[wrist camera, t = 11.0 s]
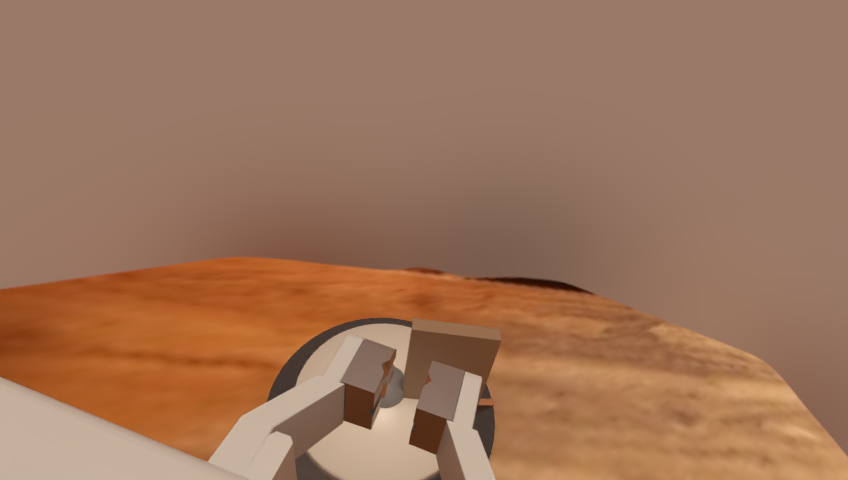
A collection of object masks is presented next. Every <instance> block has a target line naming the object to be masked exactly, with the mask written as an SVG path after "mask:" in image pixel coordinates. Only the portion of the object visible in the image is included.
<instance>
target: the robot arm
mask: <svg viewBox="0 0 848 480" xmlns="http://www.w3.org/2000/svg"><path fill="white" fill-rule="evenodd" d="M396 352H397V349H394V348H391V347H388V346H385V345H383V344H380V343H377V342H374V341H372V340H369V339H366V338H363V337H360V336H357V335H354V334H351V333H350V334H349V335H348V336H346V338H345V339H344V341H343V343H342V344H341V346H340V347H339V349H338V351H337V352H336V354H335V356H334V357H333V359H332V361H331V362H330V364H329V365H328V367H327V369H326V370H325V372H324V374H323V375H322V376H321V375H318V374H317V375H316V376H314V377H312V378H310V379H308V380H306V381H305V382H303V383H301V384H299V385H297V386H295V387H294V388H292V389H290V390H288V391H286V392H285V393H283V394H281V395H279V396H277V397H275V398H274V399H272V400H270V401H268V402H266V403H264V404H263V405H261V406H259V407H257V408H255V409H254V410H252V411H250V412H248V413H246V414H244V415H243V416H241V418H240V419H239V420H238V422H237V423H236V425H235V426H234V427H233V429H232V430H231V431H230V433H229V434H228V435H227V437H226V438H225V439H224V441H223V442H222V443H221V445H220V446H219V447H218V449H217V450H216V451H215V453H214V454H213V455H212V457H211V458H210V459H209V461H208V462H207V461H204V460H202V459H199V458H197V457H194V456H192V455H190V454H187V453H185V452H182V451H180V450H177V449H175V448H173V447H170V446H168V445H165V444H163V443H160V442H158V441H156V440H153V439H151V438H148V437H146V436H143V435H141V434H139V433H136V432H134V431H131V430H129V429H126V428H124V427H122V426H119V425H117V424H114V423H112V422H109V421H107V420H105V419H102V418H100V417H97V416H95V415H92V414H90V413H88V412H85V411H83V410H80V409H78V408H75V407H73V406H71V405H68V404H66V403H63V402H61V401H58V400H56V399H54V398H51V397H49V396H46V395H44V394H41V393H39V392H36V391H34V390H32V389H29V388H27V387H24V386H22V385H19V384H17V383H15V382H12V381H10V380H7V379H5V378H2V377H0V480H297V475H296V466H295V459H297V458H298V457H299V456H301V455H302V454H303V453H305V452H306V451H307V450H308V449H310V448H311V447H312V446H314V445H315V444H316V443H318V442H319V441H320V440H322V439H323V438H324V437H325V436H327V435H328V434H329V433H331V432H332V431H333V430H335V429H336V428H337V427H339V426H340V425H341V424H342V423H343V421H346V422H349V423H352V424H355V425H358V426H361V427H364V428H366V429H369V430H371V429H372V426H373V424H374V422H375V420H376V417H377V415H378V413H379V410H380V404H381V399H382V398H384V397H385V396H386V394H387V391H388V389H389V386H390V383H391V380H392V377H393V373H394V367H395V366H394V364H393V362H394V360H395V358H396ZM481 383H482V377H481V376H478V375H475V374H472V373H469V372H465V371H464V370H461V369H458V368H454V367H451V366H448V365H445V364H442V363H438V362H435V361H432V363H431V366H430V369H429V372H428V375H427V380H426V384H425V386H423V389H422V392H421V395H420V398H419V401H418V404H417V407H416V411H415V416H414V420H413V423H414V424H413V427H412V430H411V434H410V439H409V444H410V445H412V446H415V447H417V448H420V449H422V450H425V451H427V452H430V453H432V454H435V455H436V459H437V463H438V468H439V472H440V476H441V480H496V479H495V476H494V473H493V471H492V468H491V465H490V463H489V460H488V457H487V455H486V452H485V449H484V447H483V444H482V442H481V439H480V436H479V434H478V431H477V430H474V429H472V428H473V423H474V418H475V413H476V408H477V403H478V398H479V393H480V388H481Z"/></svg>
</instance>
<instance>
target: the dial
mask: <svg viewBox="0 0 848 480" xmlns="http://www.w3.org/2000/svg"><path fill="white" fill-rule="evenodd" d="M350 333H351V334H354V335H357V336H360V337H363V338H366V339H369V340H372V341H374V342H377V343H380V344H383V345H385V346H388V347H391V348H394V349H397V352H396V358H395V360H394V362H393V364H394V366H395V367H394V373H393V377H392V380H391V383H390V386H389V389H388V391H387V394H386V396H385V397H384V398H382V399H381V404H380V410H379V413H378V415H377V417H376V420H375V422H374V424H373V426H372V429H371V430H369V429H366V428H364V427H361V426H358V425H355V424H352V423H349V422H346V421H343V423H342V424H341V425H340V426H339V427H337V428H336V429H335V430H333V431H332V432H331V433H329V434H328V435H327V436H325V437H324V438H323V439H322V440H320V441H319V442H318V443H316V444H315V445H314V446H312V447H311V448H310V449H308V450H307V451H306V452H305V454H306V455H307V456H308V458H309V459H310V460H311V462H312V463H313V464H314V465H315V466H316V467H317V468H318V469H319V470H320V471H321V472H322V473H323V474H324V475H326V476H327V477H328V478H330V479H331V480H431V479H432V478H434V477H435V476H436V475H438V474H439V473H440V472H439V468H438V463H437V459H436V455H435V454H432V453H430V452H427V451H425V450H422V449H420V448H417V447H415V446H412V445H410V444H409V439H410V434H411V430H412V427H413V424H414V423H413V420H414V416H415V411H416V407H417V404H418V401H419V398H420V395H421V392H422V389H423V386H425V384H426V380H427V375H428V372H429V369H430V366H431V363H432V361H435V362H438V363H442V364H445V365H448V366H451V367H454V368H458V369H461V370H464V371H465V372H469V373H472V374H475V375H478V376H481V377H482V383H481V388H480V393H479V398H478V403H477V406H478V404H479V401H480V399H481V396H482V393H483V390H484V388H485V385H486V382H487V379H488V376H489V374H490V371H491V368H492V365H493V362H494V360H495V357H496V354H497V351H498V349H499V346H500V343H501V334H500V329H497V328H489V327H481V326H472V325H464V324H456V323H448V322H440V321H432V320H424V319H416V318H413V321H412V328H410V327H406V326H402V325H396V324H369V325H363V326H359V327H355V328H352V329H349V330H346V331H344V332H342V333H340V334H338V335H336V336H334V337H332V338H331V339H329V340H328V341H326V342H325V343H324V344H323V345H321V346H320V347H319V348H318V349H317V350H316V351H315V352H314V353H313V354H312V355H311V357H310V358H309V359H308V360H307V362H306V363H305V365H304V367H303V368H302V370H301V372H300V375H299V377H298V379H297V383H296V386H297V385H299V384H301V383H303V382H305V381H306V380H308V379H310V378H312V377H314V376H316V375H317V374H318V375H321V376H322V375H323V374H324V372H325V370H326V369H327V367H328V365H329V364H330V362H331V361H332V359H333V357H334V356H335V354H336V352H337V351H338V349H339V347H340V346H341V344H342V343H343V341H344V339H345V338H346V336H348V335H349V334H350Z"/></svg>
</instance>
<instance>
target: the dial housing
mask: <svg viewBox="0 0 848 480" xmlns="http://www.w3.org/2000/svg"><path fill="white" fill-rule="evenodd" d="M369 324H396V325H402V326H406V327H410V328H412V322H410V321H406V320H400V319H392V318H369V319H361V320H356V321H352V322H347V323H344V324H341V325H338V326H335V327H333V328H331V329H329V330H327V331H324V332H322V333H321V334H319V335H317V336H316V337H314V338H312V339H311V340H310V341H308V342H307V343H306V344H305V345H303V346H302V347H301V348H300V349H299V350H298V351H297V352H296V353H295V354H294V355H293V356H292V357H291V358H290V359H289V360H288V362H287V363H286V364H285V365H284V367H283V368H282V370H281V371H280V373H279V374H278V376H277V378H276V380H275V382H274V384H273V386H272V388H271V391H270V394H269V397H268V400H267V402H268V401H270V400H272V399H274V398H275V397H277V396H279V395H281V394H283V393H285V392H286V391H288V390H290V389H292V388H294V387H295V386H296V383H297V379H298V377H299V375H300V372H301V370H302V368H303V367H304V365H305V363H306V362H307V360H308V359H309V358H310V357H311V355H312V354H313V353H314V352H315V351H316V350H317V349H318V348H319V347H320V346H321V345H323V344H324V343H325V342H326V341H328V340H329V339H331V338H332V337H334V336H336V335H338V334H340V333H342V332H344V331H346V330H349V329H352V328H355V327H359V326H363V325H369ZM493 406H494V405H493V400H492V399H491V396H490V393H489V390H488V387H487V385H485V388H484V390H483V393H482V396H481V399H480V401H479V404H478V406H477V408H476V413H475V418H474V423H473V428H472V429H474V430H477V431H478V434H479V436H480V439H481V442H482V444H483V447H484V449H485V452H486V455H487V457H488V459H489V457H490V454H491V449H492V445H493V441H494V429H495V421H494V410H493ZM295 466H296V475H297V480H331V479H330V478H328V477H327V476H326V475H324V474H323V473H322V472H321V471H320V470H319V469H318V468H317V467H316V466H315V465H314V464H313V463H312V462H311V460H310V459H309V458H308V456H307V455H306V454H305V453H303V454H302V455H301V456H299V457H298V458H297V459H295ZM431 480H441V476H440V473H439V474H438V475H436V476H435V477H434V478H432V479H431Z"/></svg>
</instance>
